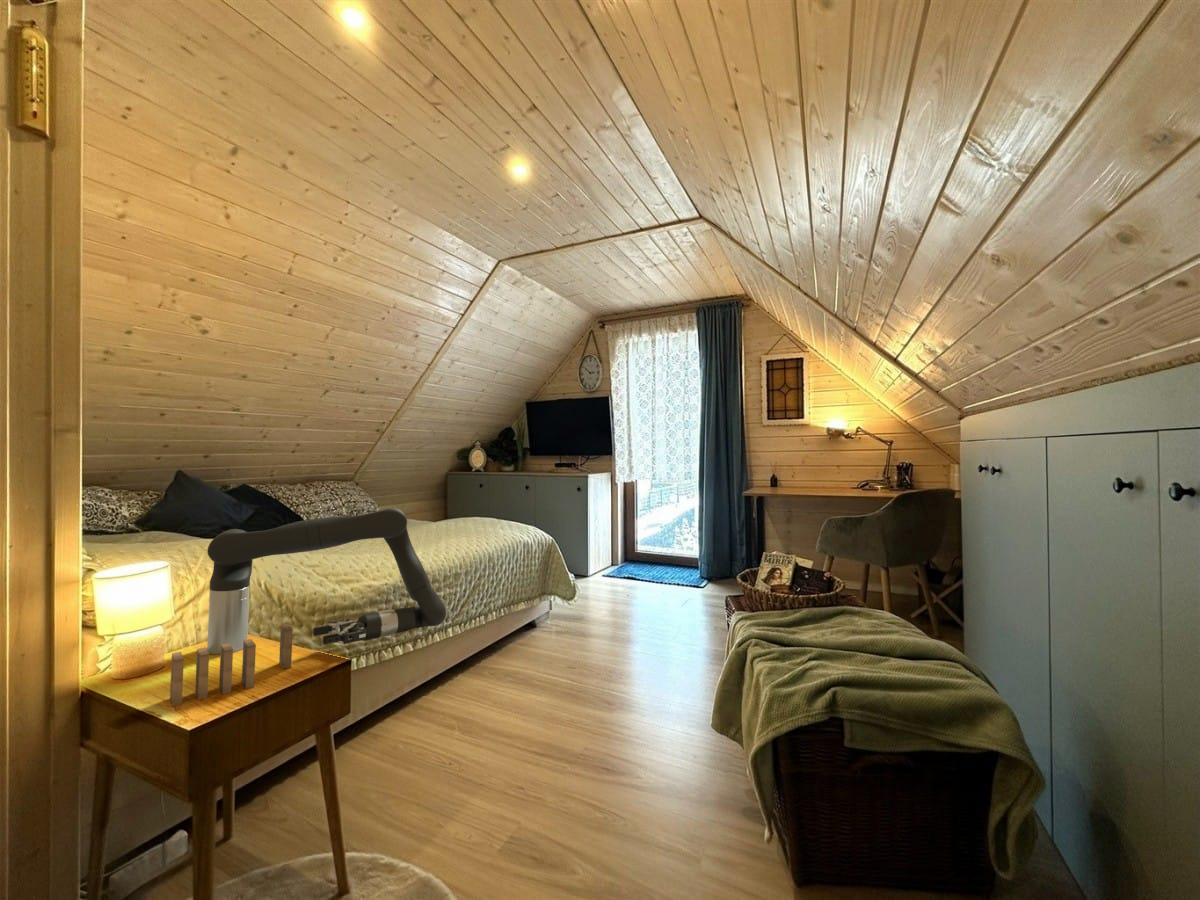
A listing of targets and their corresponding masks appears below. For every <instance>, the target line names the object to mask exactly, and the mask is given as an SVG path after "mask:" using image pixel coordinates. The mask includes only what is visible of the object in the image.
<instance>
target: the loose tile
mask: <svg viewBox="0 0 1200 900" xmlns="http://www.w3.org/2000/svg"><path fill="white" fill-rule="evenodd" d="M293 630H294V629H293V627H291V626H290V625H289V624H288V623H286V624H281V625H280V634H279V635H280V639H279V659H278V660H279V661H278V664H281V665H282V666H283V667H282V666H281V665H280V666H281V667H282V668H283V669H284V668H287V669H289V668H288V667H291V668H292V656H293V655H292V654H293V653H292V652H293Z"/></svg>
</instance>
